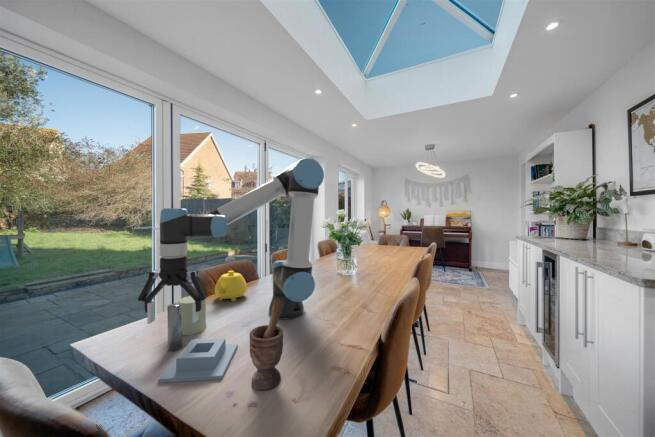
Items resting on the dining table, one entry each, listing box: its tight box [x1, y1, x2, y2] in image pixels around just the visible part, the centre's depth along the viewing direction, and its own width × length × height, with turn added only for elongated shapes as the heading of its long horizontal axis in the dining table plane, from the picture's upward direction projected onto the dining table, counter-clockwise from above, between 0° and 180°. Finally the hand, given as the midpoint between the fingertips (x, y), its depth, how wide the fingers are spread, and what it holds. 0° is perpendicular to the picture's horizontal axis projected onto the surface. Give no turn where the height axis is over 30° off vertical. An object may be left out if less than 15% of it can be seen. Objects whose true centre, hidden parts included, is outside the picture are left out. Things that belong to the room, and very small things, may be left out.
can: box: [178, 295, 207, 336], centre depth 94 cm, size 9×9×12 cm
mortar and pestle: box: [248, 298, 284, 391], centre depth 67 cm, size 12×9×20 cm
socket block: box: [157, 337, 239, 384], centre depth 74 cm, size 16×16×4 cm
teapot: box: [214, 270, 248, 302], centre depth 127 cm, size 20×16×14 cm
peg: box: [166, 302, 183, 352], centre depth 81 cm, size 4×4×14 cm
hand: (173, 321), depth 81 cm, fingers open, 13 cm apart
